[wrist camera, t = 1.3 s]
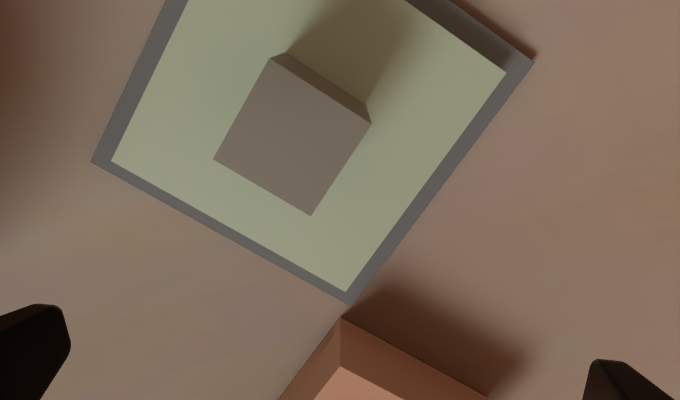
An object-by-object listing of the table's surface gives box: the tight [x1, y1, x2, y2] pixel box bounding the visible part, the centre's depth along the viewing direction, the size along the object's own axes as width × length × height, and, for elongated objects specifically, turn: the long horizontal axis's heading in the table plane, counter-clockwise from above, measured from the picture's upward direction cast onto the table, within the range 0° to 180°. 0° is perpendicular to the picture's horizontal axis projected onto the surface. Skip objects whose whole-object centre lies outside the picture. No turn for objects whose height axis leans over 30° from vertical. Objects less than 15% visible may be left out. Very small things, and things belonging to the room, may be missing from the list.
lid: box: [111, 0, 506, 292], centre depth 16 cm, size 11×11×5 cm
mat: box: [91, 0, 535, 306], centre depth 19 cm, size 13×13×1 cm
